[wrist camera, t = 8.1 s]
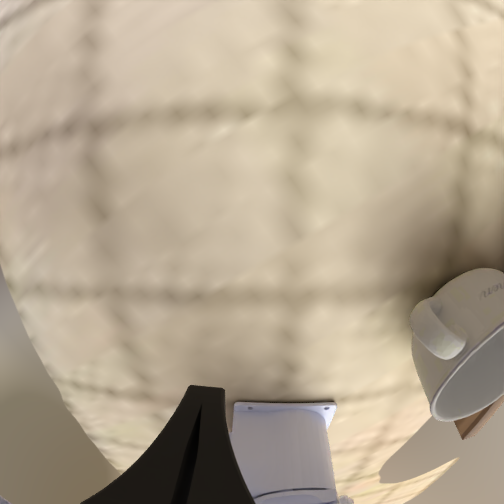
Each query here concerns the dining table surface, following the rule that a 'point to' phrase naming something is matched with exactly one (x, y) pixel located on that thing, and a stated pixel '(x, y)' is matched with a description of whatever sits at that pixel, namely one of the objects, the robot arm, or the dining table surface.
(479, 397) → the teacup
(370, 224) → the dining table surface
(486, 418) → the wall board
